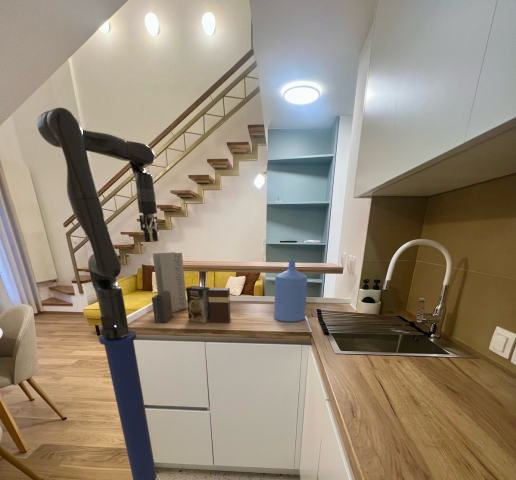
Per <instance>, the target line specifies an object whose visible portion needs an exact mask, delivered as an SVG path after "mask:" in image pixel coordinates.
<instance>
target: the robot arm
mask: <svg viewBox="0 0 516 480" xmlns="http://www.w3.org/2000/svg"><path fill="white" fill-rule="evenodd" d="M36 128H37V130H38V133H39V134H40V136H41V138H42V139H44V141H45V142H47V143H48V144H49V145H50V146H53V147H54V148H59V149H61V150H62V153H63V156H64V159H65V163H66V194H67V197H68V200H69V204H70V207H71V209H72V213H73V215H74V217H75V219H76V221H77V222H78V225H79V226H80V228H81V229H82V230H83V232H84V234H85V235H86V237H87V239H88V241H89V243H90V246H91V249H92V253H93V254H91V255H90V256H89V258H88V261H87V265H88V273H89V277H90V280H91V284H92V287H93V290H94V291H95V293H96V299H97V302H98V308H99V312H100V317H99V318H100V322H101V323H100V324H101V327H102V329H101V335H102V336H103V337H105V339H107V340H109V339H121V338H124V337H127V336H129V335H130V332H129V330H130V327H129V323H128V316H127V311H126V306H125V300H124V299H125V298H124V293H123V288H122V287H121V285H120V284H119V282H118V280H117V277H119V276H120V274H121V272H122V264H121V260H120V258H119V256H118V253H117V251H116V248H115V245H114V243H113V241H112V238H111V235H110V231H109V228H108V224H107V221H106V218H105V214H104V210H103V206H102V202H101V199H100V196H99V193H98V190H97V187H96V183H95V181H94V176H93V173H92V169H91V166H90V162H89V158H88V152H90V153H94V154H99V155H102V156H106V157H109V158H113V159H116V160H119V161H122V162H129V165H130V168H131V171H132V173H133V176H134V180H135V181H134V182H135V188H136V200H137V208H138V213H140V214H139V225H140V226H139V227H140V230H141V232H142V233H143V236H144V241H145V242H147V243H151V241H153V242H158V241H159V236H158V232H159V231H160V226H159V221H158V216H155V215H156V214H158V205H157V198H156V191H155V185H154V177H153V175H152V174H151V173H150V172H146V170H145V167H148V166H151V165H153V164H154V162H155V157H156V156H155V153H154V151H153V149H152V148H151V147H150V146H149V145H147V144H145V143H141V142H137V141H131V140H127V139H124V138H121V137H119V136H116V135H113V134H110V133H104V132H98V131H92V130H86V129H82V127H81V124H80V122H79V120H78V119H77V117H76V116H75V115H74V114H73V113H72V112H71V111H70V110H69V109H67V108H66V107H55V108H52V109H49V110H46V111H44V112H42V113H41V114H40V115H39V116H38V117H37V120H36ZM150 231H151V232H150ZM151 237H152V239H151Z"/></svg>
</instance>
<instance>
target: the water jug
mask: <svg viewBox="0 0 516 480" xmlns="http://www.w3.org/2000/svg"><path fill="white" fill-rule="evenodd" d="M274 277H275V279H274V309H273V317H274V319H275V320H277V321H279V322H284V323H285V322H287V323H297V322H301V321H303V320H304V319H305V318H306V303H307V287H308V276H307V275H306V274H303V273H302V272H300V271H299V270H296V260H288V268H287V270H284V271H283V272H280V273H278V274H276V275H275V276H274Z"/></svg>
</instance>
